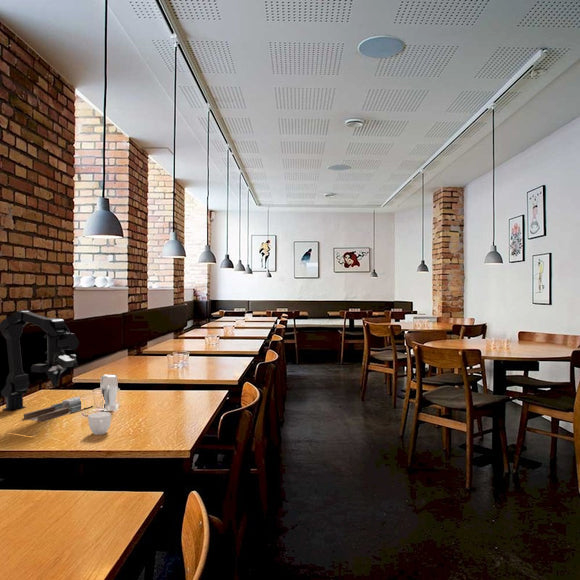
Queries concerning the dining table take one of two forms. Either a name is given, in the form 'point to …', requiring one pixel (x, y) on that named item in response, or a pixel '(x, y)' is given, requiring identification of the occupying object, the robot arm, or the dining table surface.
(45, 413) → the slot board
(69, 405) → the grey cube
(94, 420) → the cup
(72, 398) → the grey block
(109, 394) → the beer glass
